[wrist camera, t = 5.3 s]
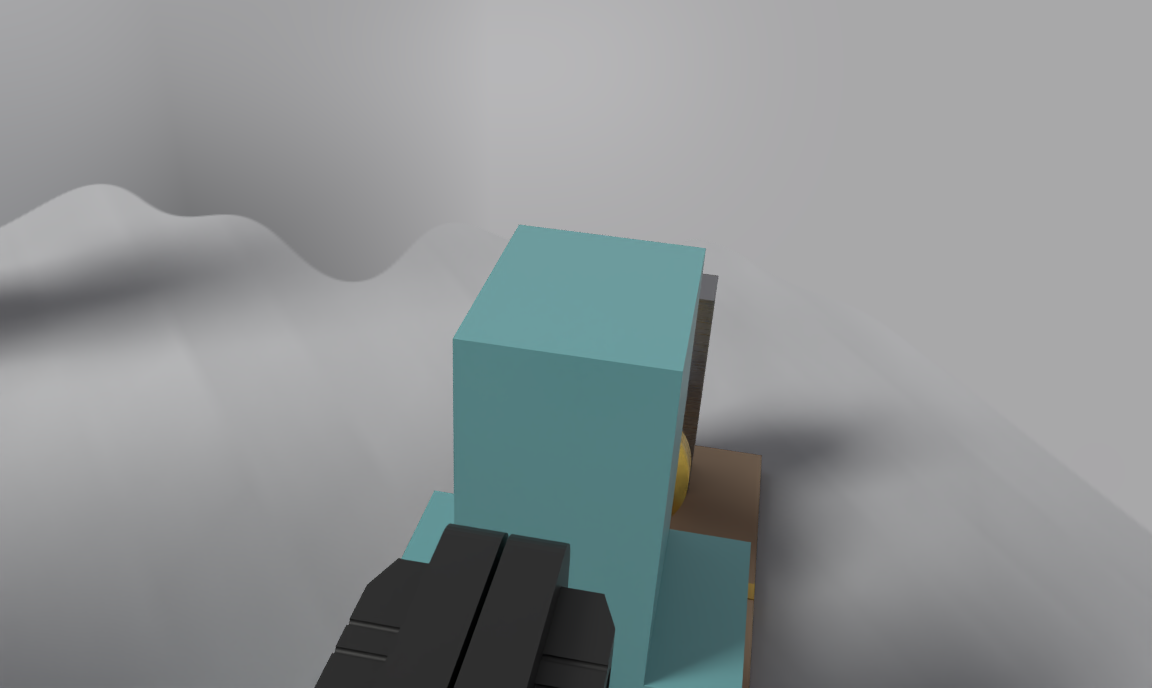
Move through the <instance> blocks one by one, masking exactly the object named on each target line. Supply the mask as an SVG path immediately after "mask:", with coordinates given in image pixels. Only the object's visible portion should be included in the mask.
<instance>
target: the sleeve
mask: <svg viewBox="0 0 1152 688" xmlns="http://www.w3.org/2000/svg"><path fill="white" fill-rule="evenodd" d="M705 251H706V248H699V247H691V246H683V245H675V244H667V243H659V242H652V241H644V240H636V239H628V238H619V237H612V236H604V235H596V234H589V233H581V232H573V231H565V230H557V229H549V228H541V227H533V226H526V225H519V226H518V228H517V229H516V231H515V233H514V234H513V236H512V238H511V240H510V241H509V243H508V245H507V246H506V248H505V250H504V252H503V253H502V255H501V257H500V258H499V260H498V262H497V264H496V265H495V267H494V269H493V271H492V272H491V274H490V276H489V277H488V279H487V281H486V283H485V284H484V286H483V288H482V289H481V291H480V293H479V295H478V296H477V298H476V300H475V301H474V303H473V305H472V307H471V308H470V310H469V312H468V313H467V315H466V317H465V319H464V320H463V322H462V324H461V325H460V327H459V329H458V331H457V332H456V334H455V336H454V337H453V428H454V494H452V493H446V492H440V491H434V493H433V495H432V497H431V499H430V501H429V503H428V505H427V507H426V509H425V511H424V513H423V515H422V517H421V519H420V521H419V523H418V525H417V528H416V530H415V532H414V534H413V536H412V538H411V540H410V542H409V544H408V546H407V548H406V550H405V552H404V554H403V556H402V558H401V559H405V560H411V561H417V562H423V563H429V562H430V560H431V558H432V556H433V553H434V551H435V549H436V547H437V544H438V542H439V540H440V538H441V535H442V533H443V531H444V529H445V528H446V526H447V525H448V524H450V523H451V524H457V525H463V526H469V527H475V528H482V529H488V530H494V531H500V532H506V533H508V535H509V536H510V535H511V534H516V535H522V536H528V537H534V538H540V539H546V540H552V541H558V542H564V543H569V544H570V566H569V579H568V588H573V589H579V590H585V591H591V592H596V593H602V594H605V598H606V601H607V604H608V607H609V610H610V613H611V616H612V619H613V623H614V626H615V637H614V647H613V656H612V665H611V674H610V684H609V688H742V680H743V664H744V647H745V631H746V615H747V598H748V582H749V566H750V549H751V542H746V541H740V540H733V539H727V538H721V537H715V536H709V535H703V534H697V533H691V532H684V531H678V530H672V529H669V528H670V520H671V513H672V505H673V497H674V490H675V482H676V474H677V466H678V459H679V451H680V443H681V436H682V428H683V420H684V412H685V405H686V397H687V389H688V382H689V374H690V366H691V359H692V351H693V343H694V335H695V328H696V320H697V312H698V305H699V297H700V289H701V281H702V274H703V266H704V258H705Z"/></svg>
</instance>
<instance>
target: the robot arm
mask: <svg viewBox="0 0 1152 688" xmlns="http://www.w3.org/2000/svg"><path fill="white" fill-rule="evenodd" d="M569 566H570V544H569V543H564V542H558V541H552V540H546V539H540V538H534V537H528V536H522V535H516V534H511V535H510V536H509V535H508V533H506V532H500V531H494V530H488V529H482V528H475V527H469V526H463V525H457V524H451V523H450V524H448V525H447V526H446V528H445V529H444V531H443V533H442V535H441V538H440V540H439V542H438V544H437V547H436V549H435V551H434V553H433V556H432V558H431V560H430V562H429V563H423V562H417V561H411V560H405V559H400V558H398V559H397V560H396V561H395V562H394V563H392V564H391V565H390V566H389V567H388V568H387V569H385V570H384V571H383V572H382V573H381V574H379V575H378V576H377V577H376V578H375V579H373V580H372V581H371V582H370V583H369V584H367V586H366V588H365V590H364V592H363V594H362V596H361V598H360V600H359V602H358V604H357V606H356V608H355V609H354V611H353V613H352V615H351V617H350V622H349V625H346V627H345V629H344V631H343V633H342V635H341V637H340V639H339V641H338V643H337V645H336V649H335V653H332V654H331V656H330V658H329V660H328V662H327V664H326V666H325V668H324V670H323V672H322V674H321V676H320V678H319V680H318V682H317V684H316V686H315V688H609V684H610V674H611V665H612V656H613V647H614V637H615V626H614V623H613V619H612V616H611V613H610V610H609V607H608V604H607V601H606V598H605V594H602V593H596V592H591V591H585V590H579V589H573V588H568V579H569Z"/></svg>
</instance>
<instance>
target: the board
mask: <svg viewBox="0 0 1152 688" xmlns="http://www.w3.org/2000/svg"><path fill="white" fill-rule="evenodd" d="M761 458H762V455H755V454H749V453H742V452H736V451H729V450H723V449H716V448H710V447H703V446H696V445H695V448H694V456H693V463H692V470H691V476H690V483H689V490H688V493H686V497H685V499H684V501H683V503H682V505H681V507H680V508H679V509H678V511H677V512H676V513H675V514H674V515H673V516H672V517H671V520H670V528H669V529H672V530H678V531H684V532H691V533H697V534H703V535H709V536H715V537H721V538H727V539H733V540H740V541H746V542H751V549H750V566H749V582H748V598H747V615H746V631H745V647H744V664H743V680H742V688H749V683H750V664H751V645H752V627H753V608H754V592H755V570H756V552H757V533H758V514H759V496H760V477H761Z"/></svg>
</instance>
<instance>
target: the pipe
mask: <svg viewBox="0 0 1152 688" xmlns="http://www.w3.org/2000/svg"><path fill="white" fill-rule="evenodd" d="M717 282H718V276H717V275H709V274H702V281H701V289H700V297H699V305H698V312H697V320H696V328H695V335H694V343H693V351H692V359H691V366H690V374H689V382H688V389H687V397H686V405H685V412H684V420H683V428H682V436H681V443H680V451H679V459H678V466H677V474H676V482H675V490H674V497H673V505H672V513H671V517H672V516H673V515H674V514H675V513H676V512H677V511H678V509H679V508H680V507H681V505H682V503H683V501H684V499H685V497H686V493H688V490H689V483H690V476H691V470H692V463H693V456H694V448H695V441H696V434H697V427H698V420H699V412H700V405H701V398H702V391H703V383H704V376H705V369H706V362H707V355H708V347H709V340H710V333H711V326H712V318H713V311H714V304H715V297H716V290H717Z"/></svg>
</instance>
